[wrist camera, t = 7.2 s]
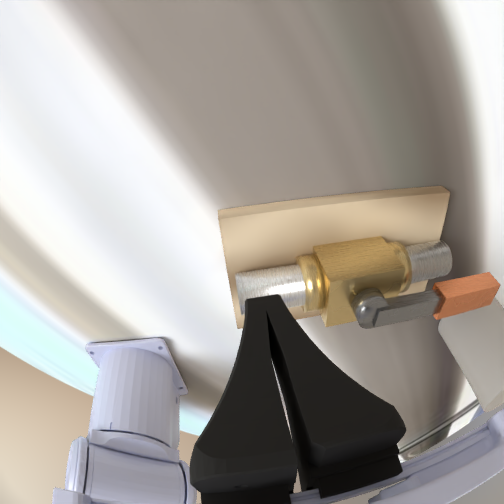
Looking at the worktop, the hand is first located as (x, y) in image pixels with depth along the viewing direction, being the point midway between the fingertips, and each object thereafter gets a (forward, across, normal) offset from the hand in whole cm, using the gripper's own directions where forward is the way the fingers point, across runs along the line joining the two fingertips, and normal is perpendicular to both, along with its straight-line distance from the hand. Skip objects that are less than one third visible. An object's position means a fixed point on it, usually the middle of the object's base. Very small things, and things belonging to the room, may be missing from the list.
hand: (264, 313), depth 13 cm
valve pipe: (+9, -7, +5) cm, 13 cm away
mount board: (+9, -7, +5) cm, 13 cm away
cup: (+10, -25, +17) cm, 32 cm away
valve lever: (+4, -12, +5) cm, 14 cm away
